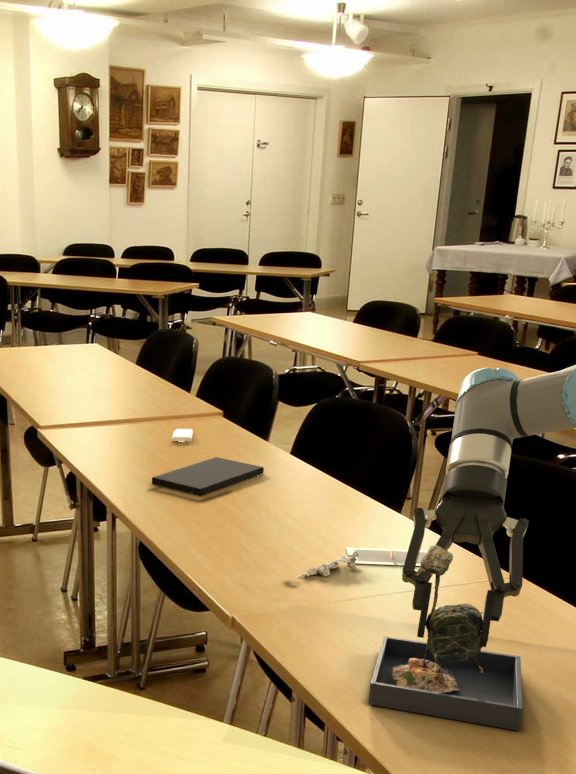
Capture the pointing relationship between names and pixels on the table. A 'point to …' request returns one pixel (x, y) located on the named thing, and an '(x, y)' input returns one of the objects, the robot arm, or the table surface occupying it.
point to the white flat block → (182, 435)
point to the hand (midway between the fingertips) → (451, 637)
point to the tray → (471, 703)
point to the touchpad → (383, 556)
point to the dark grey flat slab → (207, 476)
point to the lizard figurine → (331, 565)
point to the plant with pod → (442, 636)
